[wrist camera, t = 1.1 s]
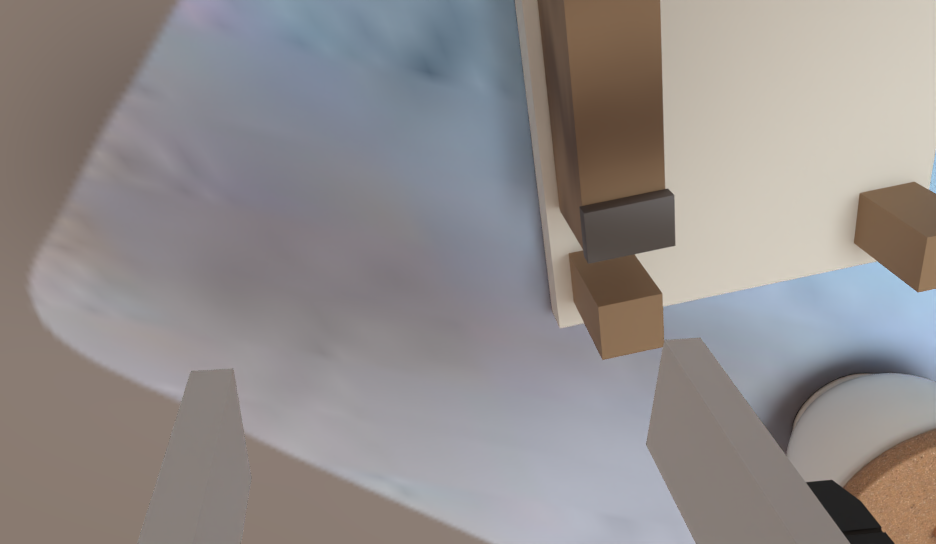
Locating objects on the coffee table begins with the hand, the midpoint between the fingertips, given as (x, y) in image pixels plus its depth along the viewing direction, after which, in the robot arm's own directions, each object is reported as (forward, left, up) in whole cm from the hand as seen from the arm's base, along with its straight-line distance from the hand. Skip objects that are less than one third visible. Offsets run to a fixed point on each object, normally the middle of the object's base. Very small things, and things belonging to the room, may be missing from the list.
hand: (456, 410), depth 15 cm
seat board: (-14, 0, -17) cm, 22 cm away
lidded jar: (-21, +21, -18) cm, 34 cm away
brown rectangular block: (-7, -1, -16) cm, 17 cm away
